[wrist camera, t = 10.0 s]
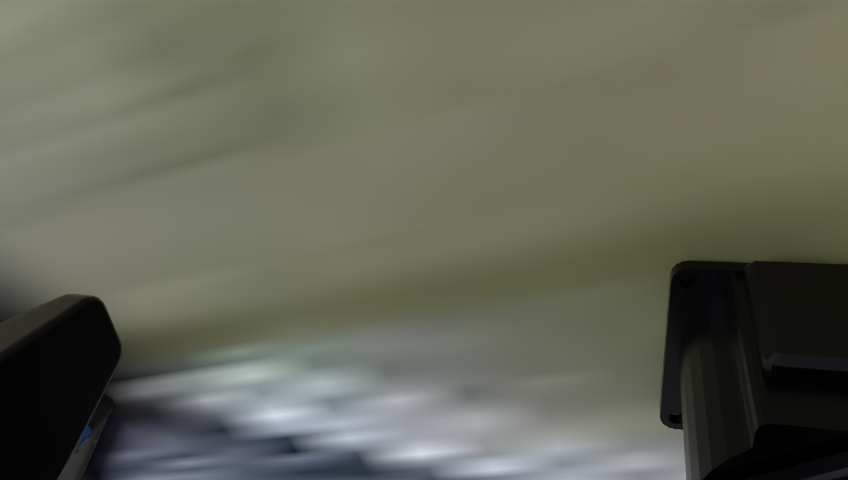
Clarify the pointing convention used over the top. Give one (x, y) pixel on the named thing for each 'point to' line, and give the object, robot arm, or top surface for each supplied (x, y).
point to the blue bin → (88, 441)
